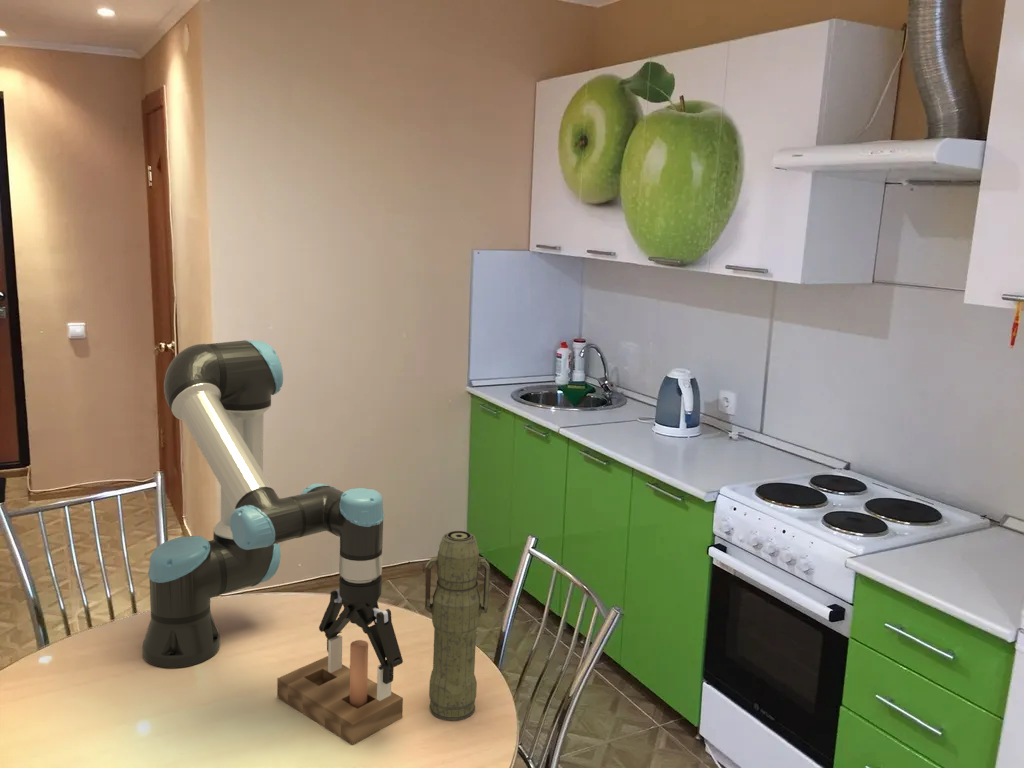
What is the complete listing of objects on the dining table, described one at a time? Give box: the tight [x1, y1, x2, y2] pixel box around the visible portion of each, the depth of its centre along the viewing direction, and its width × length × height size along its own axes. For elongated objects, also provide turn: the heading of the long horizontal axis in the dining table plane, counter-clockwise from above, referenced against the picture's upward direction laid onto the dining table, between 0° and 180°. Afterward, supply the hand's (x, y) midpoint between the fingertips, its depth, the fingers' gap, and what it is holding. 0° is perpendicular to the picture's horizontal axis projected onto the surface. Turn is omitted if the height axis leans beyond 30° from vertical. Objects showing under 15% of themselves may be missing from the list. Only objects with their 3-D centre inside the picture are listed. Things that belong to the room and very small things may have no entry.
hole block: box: [276, 655, 404, 746], centre depth 166 cm, size 22×12×4 cm, turn 51°
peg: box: [349, 639, 369, 709], centre depth 162 cm, size 3×3×15 cm
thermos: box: [424, 530, 491, 722], centre depth 165 cm, size 9×12×35 cm
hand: (358, 683), depth 162 cm, fingers open, 13 cm apart
